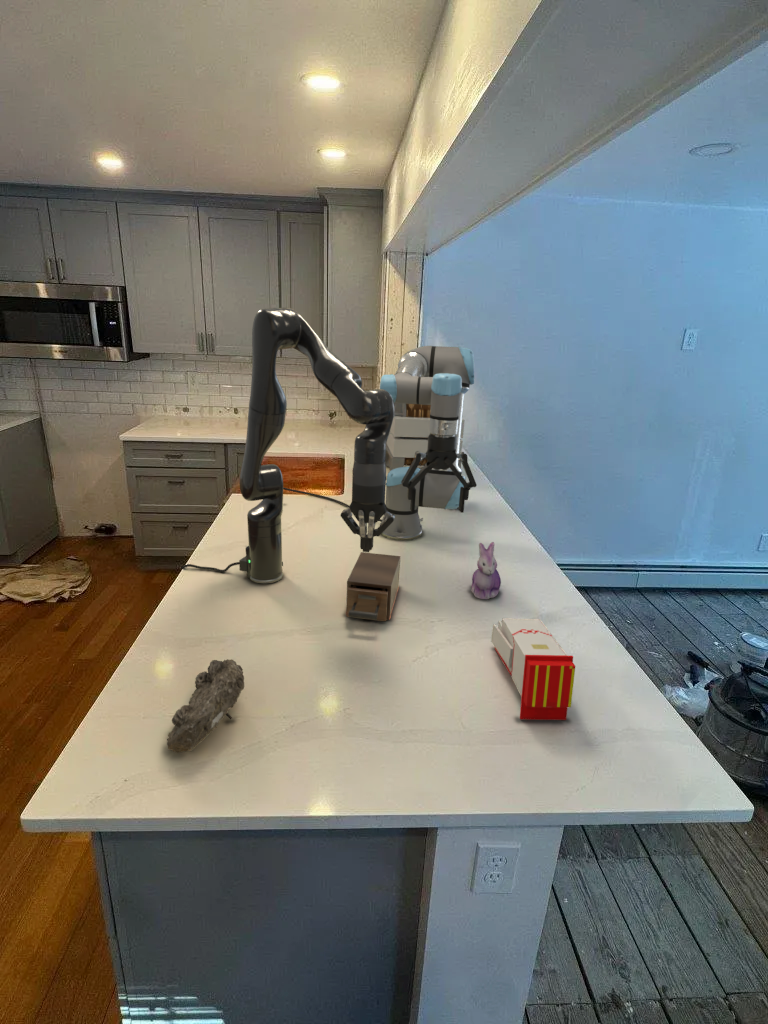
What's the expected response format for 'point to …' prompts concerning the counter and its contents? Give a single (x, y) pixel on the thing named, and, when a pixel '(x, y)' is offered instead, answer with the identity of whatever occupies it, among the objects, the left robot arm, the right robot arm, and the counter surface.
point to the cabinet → (377, 575)
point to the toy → (535, 667)
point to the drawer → (367, 603)
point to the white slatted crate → (410, 435)
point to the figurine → (486, 574)
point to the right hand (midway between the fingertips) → (436, 511)
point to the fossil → (206, 705)
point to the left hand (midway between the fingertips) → (366, 550)
